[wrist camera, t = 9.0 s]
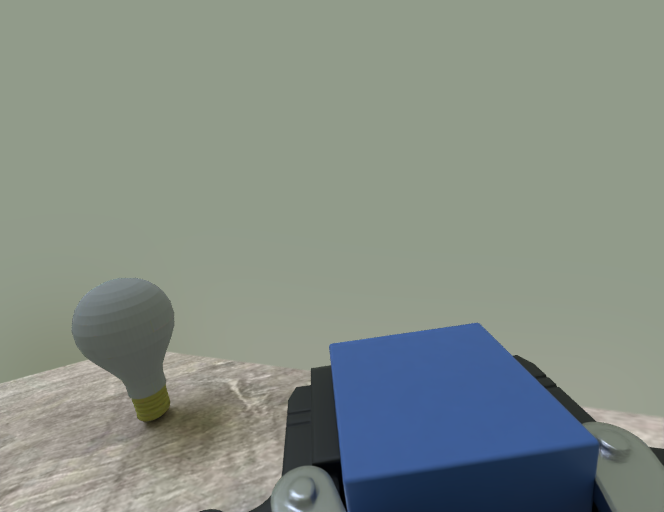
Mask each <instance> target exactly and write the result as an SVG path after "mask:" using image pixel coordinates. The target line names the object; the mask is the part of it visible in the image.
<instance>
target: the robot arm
mask: <svg viewBox="0 0 664 512" xmlns="http://www.w3.org/2000/svg"><path fill="white" fill-rule="evenodd" d="M513 357H514V358H515V359H516V360H517V361H518V362H519V363H520V364H521V365H522V366H523V367H524V368H525V369H526V370H527V371H528V372H529V373H530V374H531V375H532V376H533V377H534V378H535V379H536V380H537V381H538V382H539V383H540V384H541V385H542V386H543V387H544V388H545V389H547V390H548V391H549V392H550V393H551V394H552V395H553V396H554V397H555V398H556V399H557V400H558V401H559V402H560V403H561V404H562V405H563V406H564V407H565V408H566V409H567V410H568V411H569V412H570V413H571V414H572V415H573V416H574V417H575V418H576V419H577V420H578V421H579V422H580V423H581V424H582V425H583V426H584V427H585V428H586V429H587V430H588V431H589V432H590V433H591V434H592V435H593V436H594V437H595V438H596V439H597V440H598V442H599V444H600V447H599V455H598V463H597V472H596V478H595V481H594V489H593V497H592V498H593V505H592V512H664V449H661V448H652V447H648V446H647V444H646V443H644V442H643V441H642V440H641V439H640V438H638V437H637V436H636V435H634V434H632V433H630V432H629V431H627V430H625V429H622V428H620V427H617V426H614V425H611V424H607V423H602V422H596V421H595V420H594V419H593V418H592V417H591V416H590V415H589V414H588V413H587V412H585V411H584V410H583V409H582V408H581V407H580V406H579V405H578V404H577V403H576V402H575V401H574V400H572V399H571V398H570V397H569V396H568V395H567V394H566V393H565V392H564V391H563V390H562V389H561V388H559V387H557V386H556V384H555V383H554V382H553V381H552V380H551V379H550V378H548V377H546V375H545V374H544V373H543V372H542V371H541V370H540V369H539V368H538V367H537V366H536V365H535V364H533V363H531V362H529V361H527V360H525V359H523V358H521V357H520V356H518V355H515V356H513ZM287 415H288V416H287V423H286V426H287V427H286V435H285V446H284V458H283V470H282V477H281V478H280V480H279V481H278V482H277V484H276V485H275V487H274V489H273V492H272V495H271V496H270V497H269V498H268V499H267V500H266V501H265V502H264V503H263V504H261V505H260V506H258V507H257V508H255V509H253V510H251V511H249V512H347V505H346V498H345V492H344V485H343V477H342V467H341V457H340V447H339V438H338V428H337V418H336V408H335V399H334V389H333V379H332V369H331V365H330V366H324V367H318V368H311V385H309V386H302V387H296V388H295V390H294V392H293V393H292V395H291V397H290V398H289V400H288V411H287ZM200 512H222V511H220V510H216V509H209V510H203V511H200Z"/></svg>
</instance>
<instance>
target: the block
mask: <svg viewBox="0 0 664 512" xmlns="http://www.w3.org/2000/svg"><path fill="white" fill-rule="evenodd" d="M329 350H330V359H331V369H332V379H333V389H334V399H335V408H336V418H337V428H338V438H339V447H340V457H341V467H342V477H343V485H344V492H345V498H346V505H347V512H592V505H593V498H592V497H593V489H594V481H595V478H596V472H597V463H598V455H599V447H600V444H599V442H598V440H597V439H596V438H595V437H594V436H593V435H592V434H591V433H590V432H589V431H588V430H587V429H586V428H585V427H584V426H583V425H582V424H581V423H580V422H579V421H578V420H577V419H576V418H575V417H574V416H573V415H572V414H571V413H570V412H569V411H568V410H567V409H566V408H565V407H564V406H563V405H562V404H561V403H560V402H559V401H558V400H557V399H556V398H555V397H554V396H553V395H552V394H551V393H550V392H549V391H548V390H547V389H545V388H544V387H543V386H542V385H541V384H540V383H539V382H538V381H537V380H536V379H535V378H534V377H533V376H532V375H531V374H530V373H529V372H528V371H527V370H526V369H525V368H524V367H523V366H522V365H521V364H520V363H519V362H518V361H517V360H516V359H515V358H514V357H513V356H512V355H511V354H510V353H509V352H508V351H507V350H506V349H505V348H503V346H502V345H501V344H500V343H499V342H498V341H497V340H496V339H495V338H494V337H493V336H492V335H491V334H490V333H488V331H486V329H484V328H483V327H482V326H481V325H480V324H479V323H472V324H466V325H460V326H452V327H445V328H438V329H431V330H424V331H417V332H410V333H403V334H397V335H389V336H382V337H375V338H368V339H362V340H355V341H347V342H340V343H333V344H330V346H329Z"/></svg>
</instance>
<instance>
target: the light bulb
mask: <svg viewBox="0 0 664 512" xmlns="http://www.w3.org/2000/svg"><path fill="white" fill-rule="evenodd" d="M173 328H174V311H173V308H172V305H171V302H170V300H169V299H168V297H167V296H166V294H165V293H164V292H163V291H162V290H161V289H160V288H159V287H157V286H156V285H154V284H152V283H151V282H149V281H146V280H142V279H138V278H118V279H113V280H110V281H107V282H104V283H103V284H101V285H99V286H97V287H95V288H94V289H92V290H90V291H89V292H88V293H87V294H86V295H85V296H84V297H83V298H82V299H81V301H80V302H79V304H78V306H77V307H76V309H75V311H74V315H73V319H72V334H73V337H74V340H75V343H76V345H77V347H78V348H79V350H80V351H81V352H82V354H83V355H84V356H85V357H86V358H88V359H89V360H90V361H92V362H93V363H95V364H96V365H98V366H100V367H101V368H103V369H105V370H106V371H108V372H110V373H111V374H113V375H114V376H116V377H117V378H119V379H120V380H122V382H123V383H124V385H125V386H126V389H127V392H128V395H129V397H130V398H132V402H133V404H134V407H135V410H136V412H137V418H138V419H139V420H141V421H151V420H155V419H158V418H159V417H160V416H162V415H163V414H164V413H165V412H166V411H167V410H168V408H169V406H170V400H169V396H168V392H167V389H166V378H165V375H164V372H163V360H164V357H165V354H166V350H167V347H168V345H169V342H170V339H171V336H172V331H173Z"/></svg>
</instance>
